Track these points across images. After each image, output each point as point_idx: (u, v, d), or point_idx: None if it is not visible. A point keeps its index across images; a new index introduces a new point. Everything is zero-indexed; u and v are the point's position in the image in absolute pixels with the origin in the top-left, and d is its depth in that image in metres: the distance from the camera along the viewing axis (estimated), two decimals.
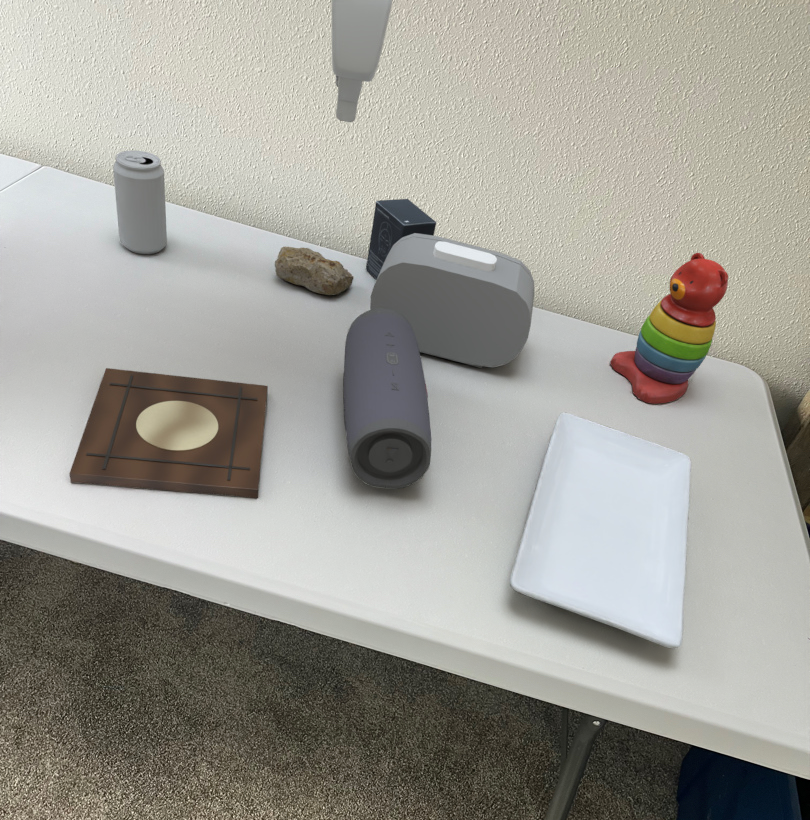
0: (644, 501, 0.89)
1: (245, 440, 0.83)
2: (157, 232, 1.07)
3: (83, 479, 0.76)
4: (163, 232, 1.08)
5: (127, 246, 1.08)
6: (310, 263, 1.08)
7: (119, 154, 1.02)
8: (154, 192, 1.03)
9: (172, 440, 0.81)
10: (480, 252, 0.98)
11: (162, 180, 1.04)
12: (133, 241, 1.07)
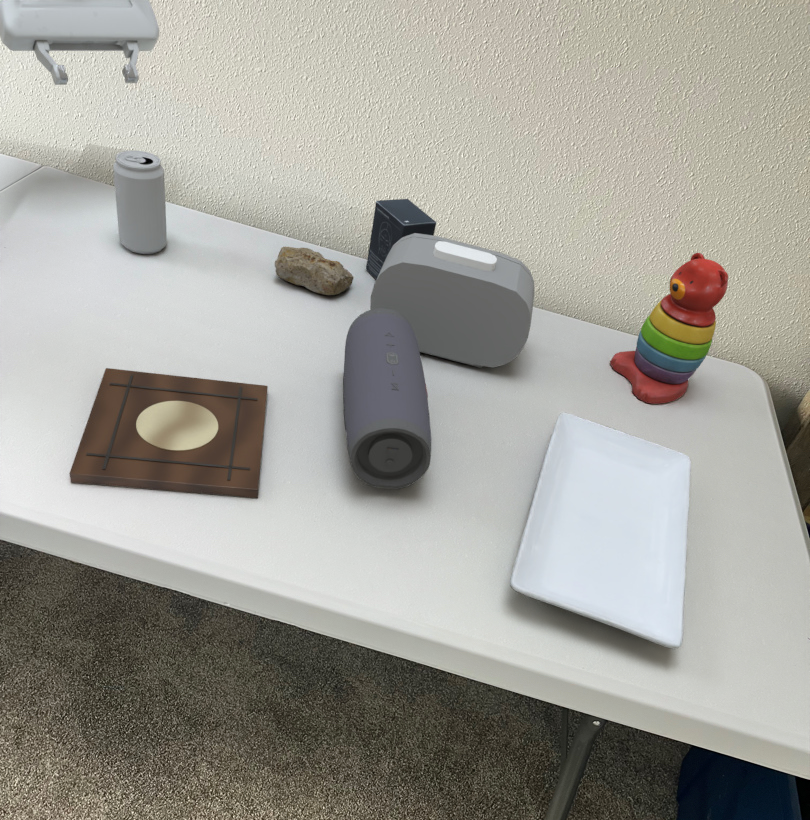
0: (644, 501, 0.89)
1: (245, 440, 0.83)
2: (157, 231, 1.07)
3: (83, 479, 0.76)
4: (163, 232, 1.08)
5: (127, 246, 1.08)
6: (310, 263, 1.08)
7: (119, 154, 1.02)
8: (154, 192, 1.03)
9: (172, 440, 0.81)
10: (480, 252, 0.98)
11: (162, 180, 1.04)
12: (133, 241, 1.07)
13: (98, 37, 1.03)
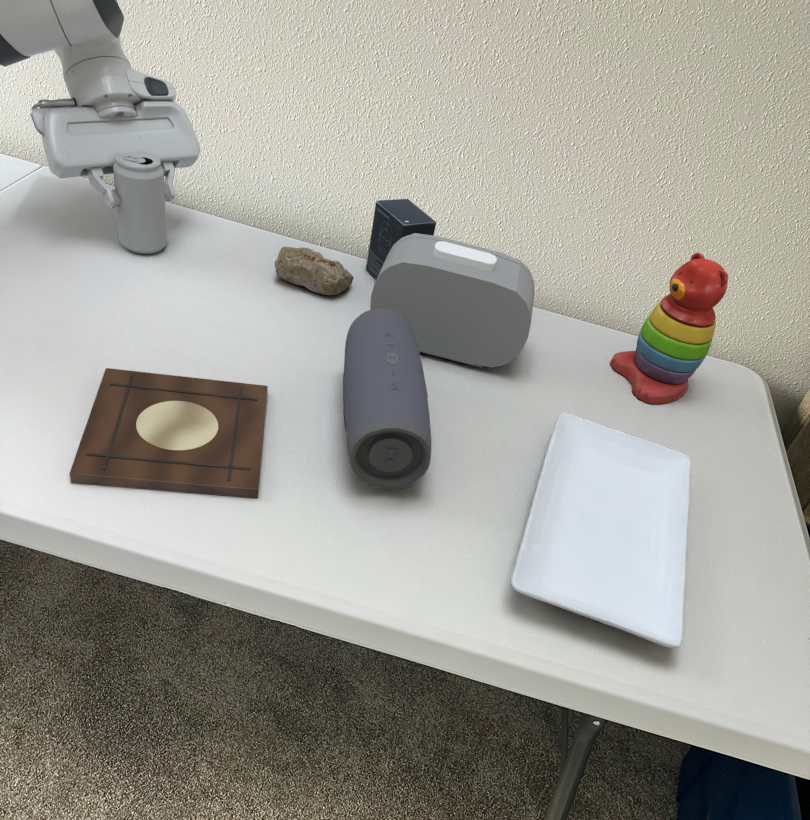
0: (644, 501, 0.89)
1: (245, 440, 0.83)
2: (157, 231, 1.07)
3: (83, 479, 0.76)
4: (163, 232, 1.08)
5: (127, 246, 1.08)
6: (310, 263, 1.08)
7: (119, 154, 1.02)
8: (154, 192, 1.03)
9: (172, 440, 0.81)
10: (480, 252, 0.98)
11: (162, 180, 1.04)
12: (133, 241, 1.07)
13: None
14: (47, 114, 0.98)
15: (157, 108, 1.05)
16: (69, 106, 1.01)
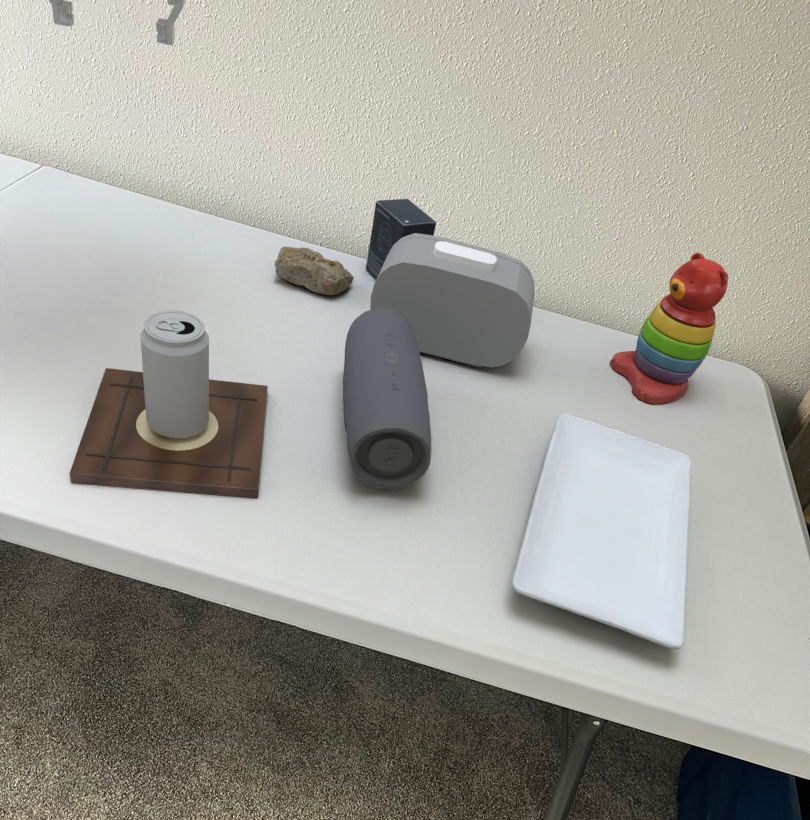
0: (644, 501, 0.89)
1: (245, 440, 0.83)
2: (197, 413, 0.80)
3: (83, 479, 0.76)
4: (205, 411, 0.81)
5: (157, 431, 0.80)
6: (310, 263, 1.08)
7: (149, 319, 0.75)
8: (196, 368, 0.76)
9: (172, 440, 0.81)
10: (480, 252, 0.98)
11: (206, 351, 0.76)
12: (165, 427, 0.79)
13: None
14: None
15: None
16: None
